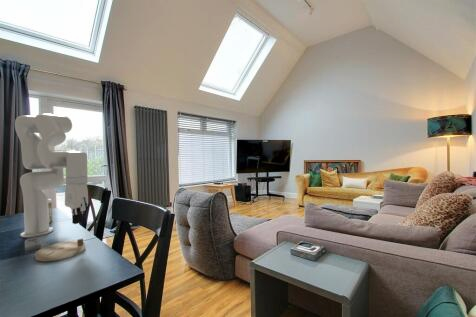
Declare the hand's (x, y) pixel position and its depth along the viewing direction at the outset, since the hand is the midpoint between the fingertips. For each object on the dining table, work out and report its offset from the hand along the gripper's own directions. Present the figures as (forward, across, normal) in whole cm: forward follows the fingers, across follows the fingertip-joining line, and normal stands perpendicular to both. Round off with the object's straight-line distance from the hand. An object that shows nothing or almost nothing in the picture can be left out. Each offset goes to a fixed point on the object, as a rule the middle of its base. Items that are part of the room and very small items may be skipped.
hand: (77, 222), depth 98 cm
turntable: (+11, 0, -6) cm, 13 cm away
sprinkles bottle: (+13, -59, +12) cm, 62 cm away
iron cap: (+12, -15, -10) cm, 22 cm away
